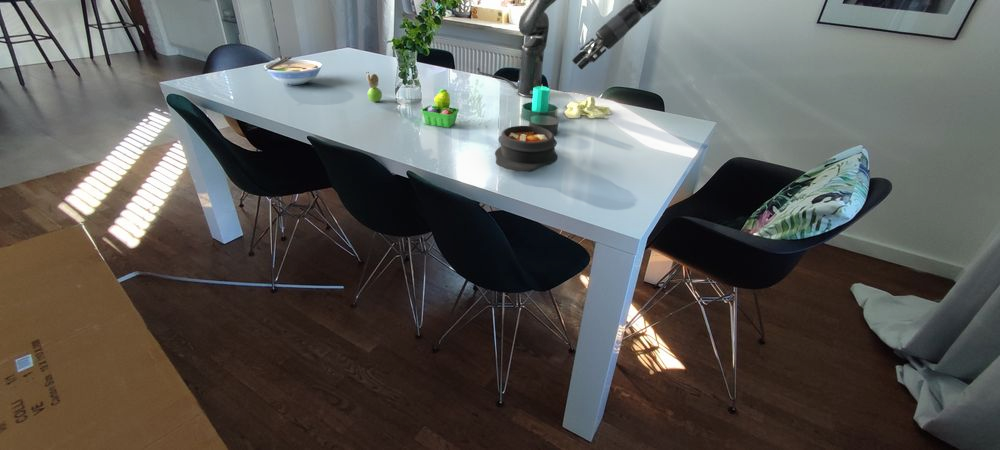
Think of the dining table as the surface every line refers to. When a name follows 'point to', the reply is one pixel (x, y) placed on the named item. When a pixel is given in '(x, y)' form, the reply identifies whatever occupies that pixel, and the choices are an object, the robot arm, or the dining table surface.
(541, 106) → the candle
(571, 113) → the cloth
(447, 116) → the fruit basket
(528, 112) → the tin
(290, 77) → the ramen bowl
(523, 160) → the casserole
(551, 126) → the stand
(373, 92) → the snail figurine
